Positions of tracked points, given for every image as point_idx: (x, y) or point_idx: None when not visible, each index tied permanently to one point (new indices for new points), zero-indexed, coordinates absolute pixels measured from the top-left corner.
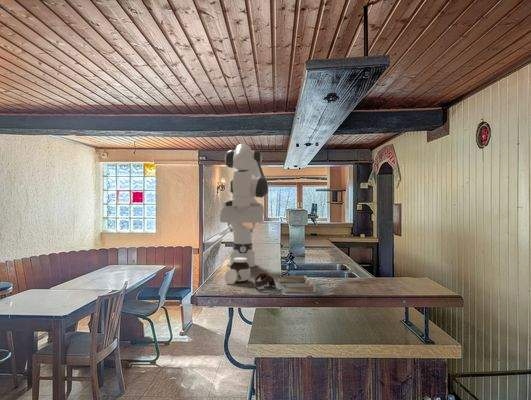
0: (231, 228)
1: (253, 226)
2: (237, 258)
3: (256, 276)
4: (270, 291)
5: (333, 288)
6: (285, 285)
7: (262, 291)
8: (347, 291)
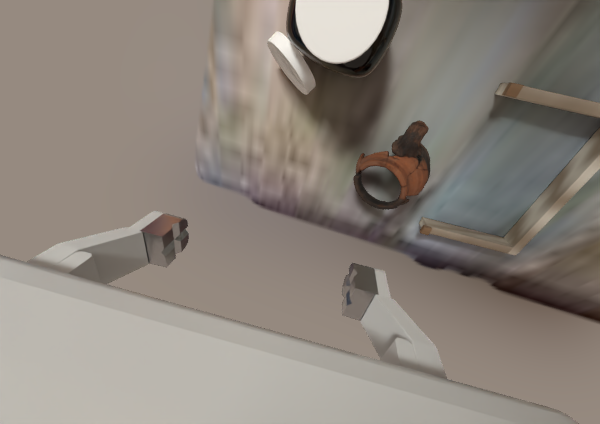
0: (147, 236)
1: (381, 352)
2: (322, 2)
3: (369, 163)
4: None
5: (597, 234)
6: (425, 234)
7: None
8: (597, 269)
